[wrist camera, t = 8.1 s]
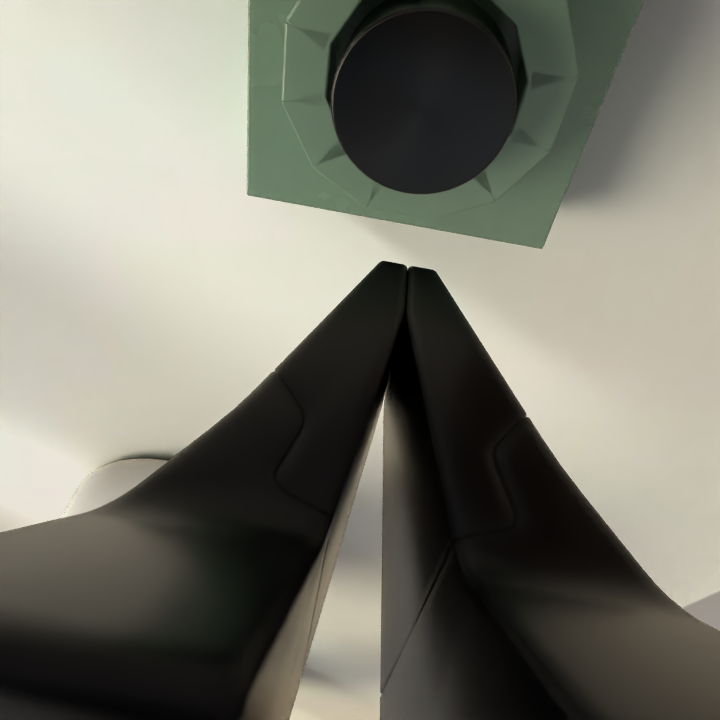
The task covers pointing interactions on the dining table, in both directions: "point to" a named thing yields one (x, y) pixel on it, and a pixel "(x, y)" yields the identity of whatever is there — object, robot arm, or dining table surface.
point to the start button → (424, 94)
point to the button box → (485, 191)
